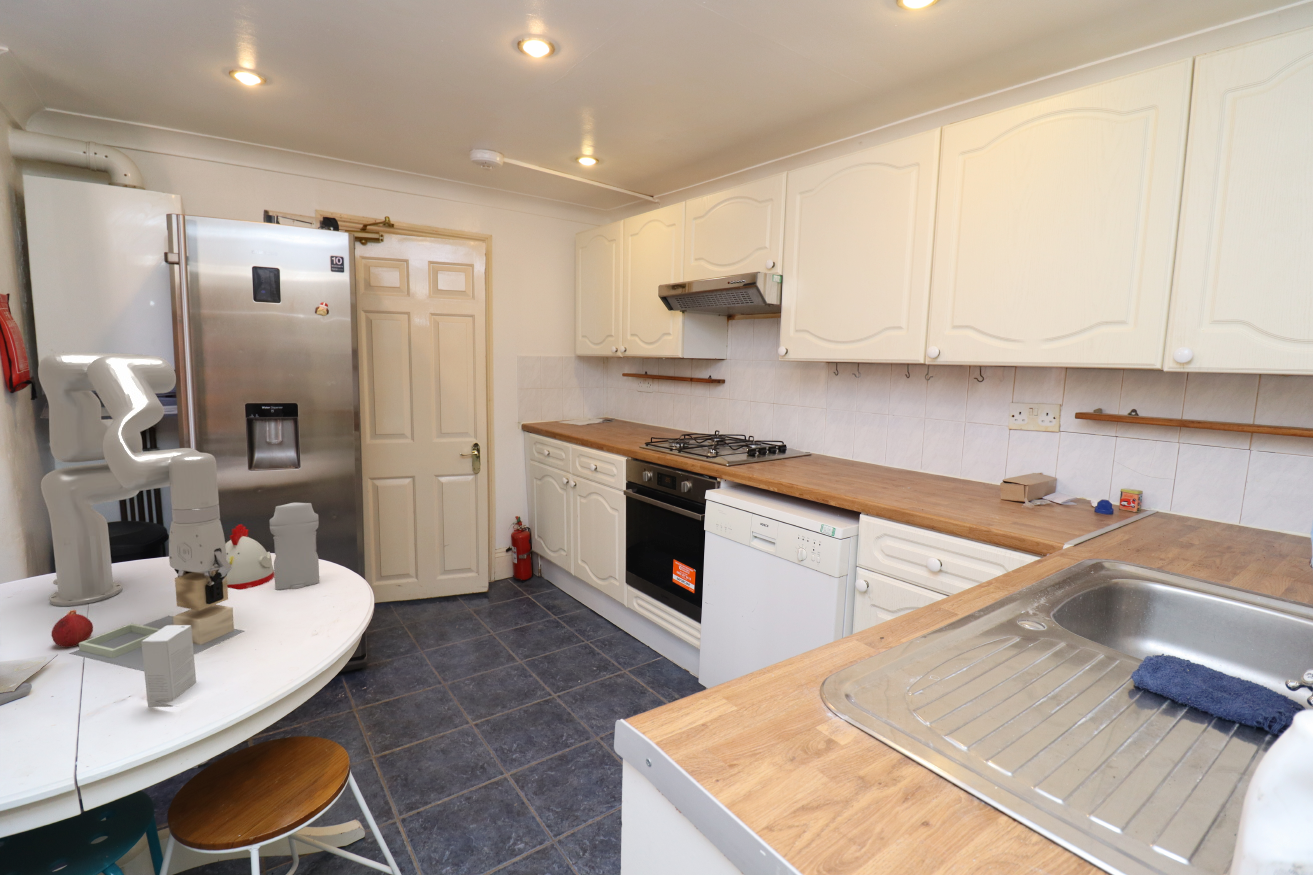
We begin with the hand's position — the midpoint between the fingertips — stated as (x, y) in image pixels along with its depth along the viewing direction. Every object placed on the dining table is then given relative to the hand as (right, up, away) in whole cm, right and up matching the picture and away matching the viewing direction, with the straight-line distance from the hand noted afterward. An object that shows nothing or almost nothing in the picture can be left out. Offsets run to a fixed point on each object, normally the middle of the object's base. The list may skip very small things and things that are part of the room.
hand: (202, 598), depth 122 cm
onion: (-23, -9, -4) cm, 25 cm away
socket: (-13, -8, -4) cm, 16 cm away
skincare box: (+9, -12, -19) cm, 24 cm away
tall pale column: (+1, -5, +31) cm, 31 cm away
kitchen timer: (-15, -5, +33) cm, 37 cm away
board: (-7, -9, -2) cm, 12 cm away
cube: (0, -1, 0) cm, 1 cm away
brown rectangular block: (0, -8, +1) cm, 8 cm away
